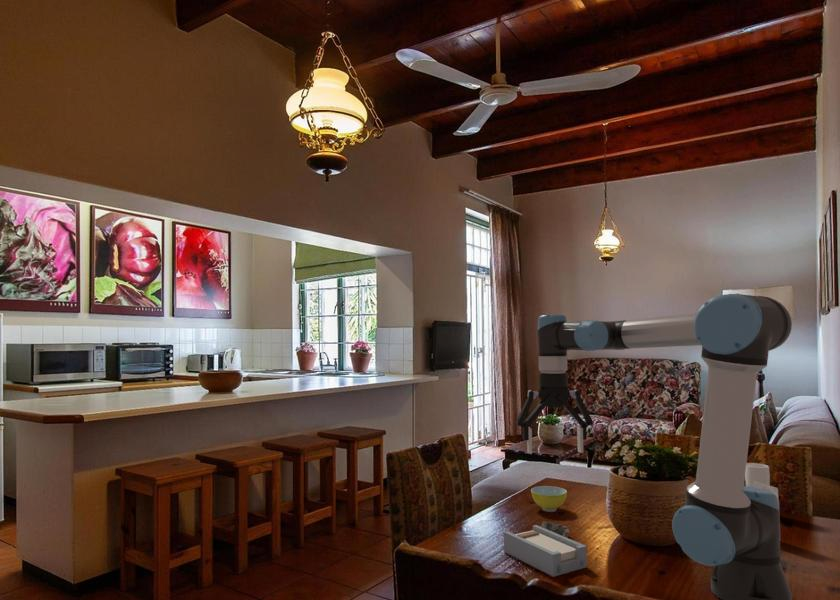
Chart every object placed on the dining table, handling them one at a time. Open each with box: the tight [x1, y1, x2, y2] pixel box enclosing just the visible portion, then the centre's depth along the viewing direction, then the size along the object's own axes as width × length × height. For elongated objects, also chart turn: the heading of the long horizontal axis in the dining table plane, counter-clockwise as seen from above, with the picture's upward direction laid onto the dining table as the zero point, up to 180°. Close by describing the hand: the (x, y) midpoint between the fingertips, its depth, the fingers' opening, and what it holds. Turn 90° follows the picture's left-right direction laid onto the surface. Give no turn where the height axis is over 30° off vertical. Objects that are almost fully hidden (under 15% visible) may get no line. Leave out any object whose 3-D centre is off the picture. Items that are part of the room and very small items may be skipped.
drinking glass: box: [744, 462, 771, 491], centre depth 181 cm, size 7×7×15 cm
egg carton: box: [540, 520, 570, 538], centre depth 157 cm, size 11×8×4 cm
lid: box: [515, 529, 576, 562], centre depth 144 cm, size 16×8×2 cm, turn 31°
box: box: [503, 524, 588, 578], centre depth 144 cm, size 18×11×5 cm, turn 31°
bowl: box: [530, 485, 568, 513], centre depth 184 cm, size 11×12×6 cm
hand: (555, 452), depth 152 cm, fingers open, 13 cm apart
